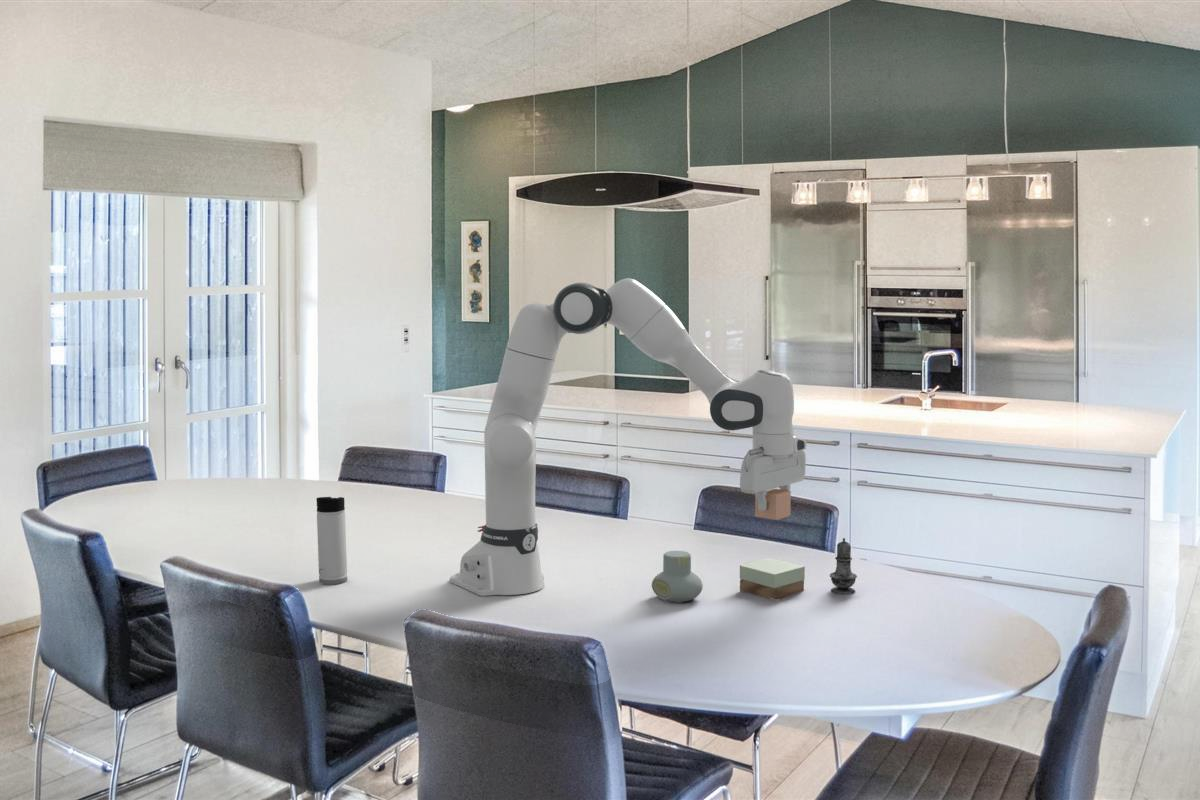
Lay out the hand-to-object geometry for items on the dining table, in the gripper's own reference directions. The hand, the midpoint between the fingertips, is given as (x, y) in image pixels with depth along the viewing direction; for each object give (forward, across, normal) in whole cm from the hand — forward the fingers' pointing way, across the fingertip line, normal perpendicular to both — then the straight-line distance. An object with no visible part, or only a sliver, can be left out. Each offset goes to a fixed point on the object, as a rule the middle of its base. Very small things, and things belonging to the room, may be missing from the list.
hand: (772, 507), depth 252 cm
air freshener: (+19, -19, +12) cm, 29 cm away
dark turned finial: (+19, +10, -12) cm, 24 cm away
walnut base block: (+19, 0, 0) cm, 19 cm away
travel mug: (+18, -60, +79) cm, 101 cm away
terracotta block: (+2, 0, 0) cm, 2 cm away
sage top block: (+16, 0, 0) cm, 16 cm away
